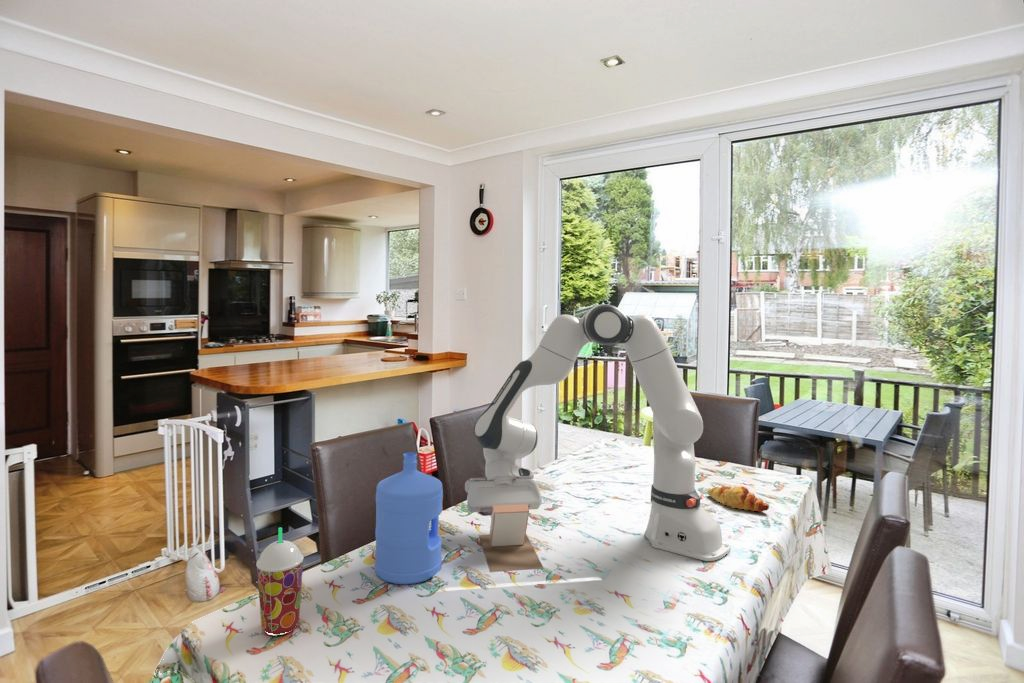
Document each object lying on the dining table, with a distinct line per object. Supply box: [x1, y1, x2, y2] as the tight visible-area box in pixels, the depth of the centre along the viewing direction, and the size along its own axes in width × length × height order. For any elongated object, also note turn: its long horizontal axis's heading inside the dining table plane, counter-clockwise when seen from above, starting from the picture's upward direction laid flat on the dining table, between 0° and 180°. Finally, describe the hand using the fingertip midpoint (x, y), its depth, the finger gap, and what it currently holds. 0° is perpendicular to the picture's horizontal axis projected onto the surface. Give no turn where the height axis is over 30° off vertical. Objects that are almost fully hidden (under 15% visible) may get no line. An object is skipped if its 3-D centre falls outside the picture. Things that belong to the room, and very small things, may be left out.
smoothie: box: [255, 527, 304, 634], centre depth 107 cm, size 8×8×20 cm
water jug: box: [374, 452, 444, 585], centre depth 132 cm, size 16×16×28 cm
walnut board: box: [478, 533, 544, 573], centre depth 143 cm, size 21×13×1 cm, turn 11°
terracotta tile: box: [489, 504, 530, 547], centre depth 143 cm, size 3×9×12 cm, turn 101°
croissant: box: [707, 485, 770, 513], centre depth 182 cm, size 21×10×8 cm, turn 40°
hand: (506, 525), depth 146 cm, fingers closed
